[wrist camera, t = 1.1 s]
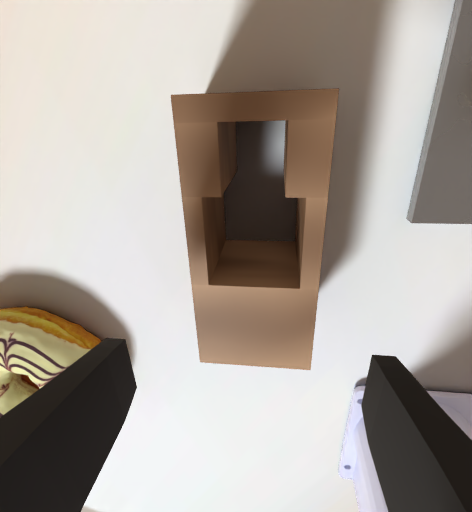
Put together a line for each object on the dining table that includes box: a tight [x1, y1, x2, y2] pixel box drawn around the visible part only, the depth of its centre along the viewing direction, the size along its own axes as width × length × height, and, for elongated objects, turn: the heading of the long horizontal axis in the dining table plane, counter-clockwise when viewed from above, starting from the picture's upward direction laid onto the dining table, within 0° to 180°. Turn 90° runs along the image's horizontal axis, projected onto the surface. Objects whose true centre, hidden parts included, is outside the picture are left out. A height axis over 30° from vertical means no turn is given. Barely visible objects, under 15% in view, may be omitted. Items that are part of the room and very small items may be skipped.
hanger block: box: [171, 88, 339, 370], centre depth 14 cm, size 11×5×5 cm, turn 2°
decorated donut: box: [0, 306, 102, 417], centre depth 21 cm, size 10×11×4 cm
